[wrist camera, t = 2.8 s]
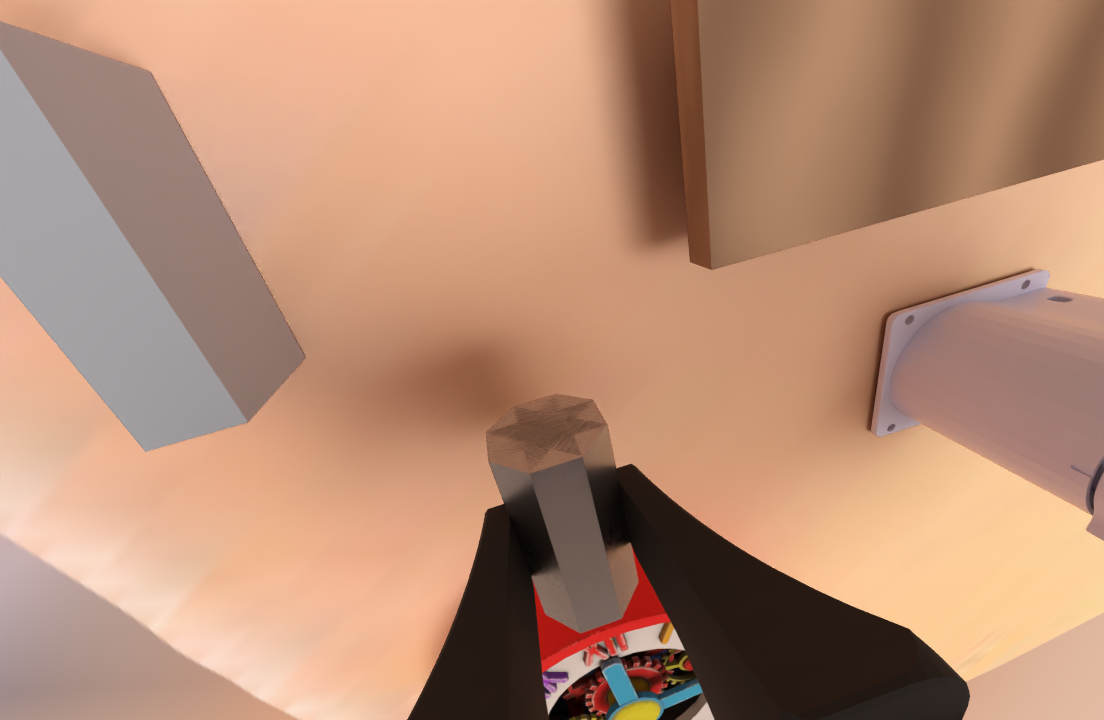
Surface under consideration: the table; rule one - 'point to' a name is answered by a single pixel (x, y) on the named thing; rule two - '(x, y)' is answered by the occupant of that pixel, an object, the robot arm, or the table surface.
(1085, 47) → the slab
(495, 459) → the roller
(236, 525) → the table surface
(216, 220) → the block
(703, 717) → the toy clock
